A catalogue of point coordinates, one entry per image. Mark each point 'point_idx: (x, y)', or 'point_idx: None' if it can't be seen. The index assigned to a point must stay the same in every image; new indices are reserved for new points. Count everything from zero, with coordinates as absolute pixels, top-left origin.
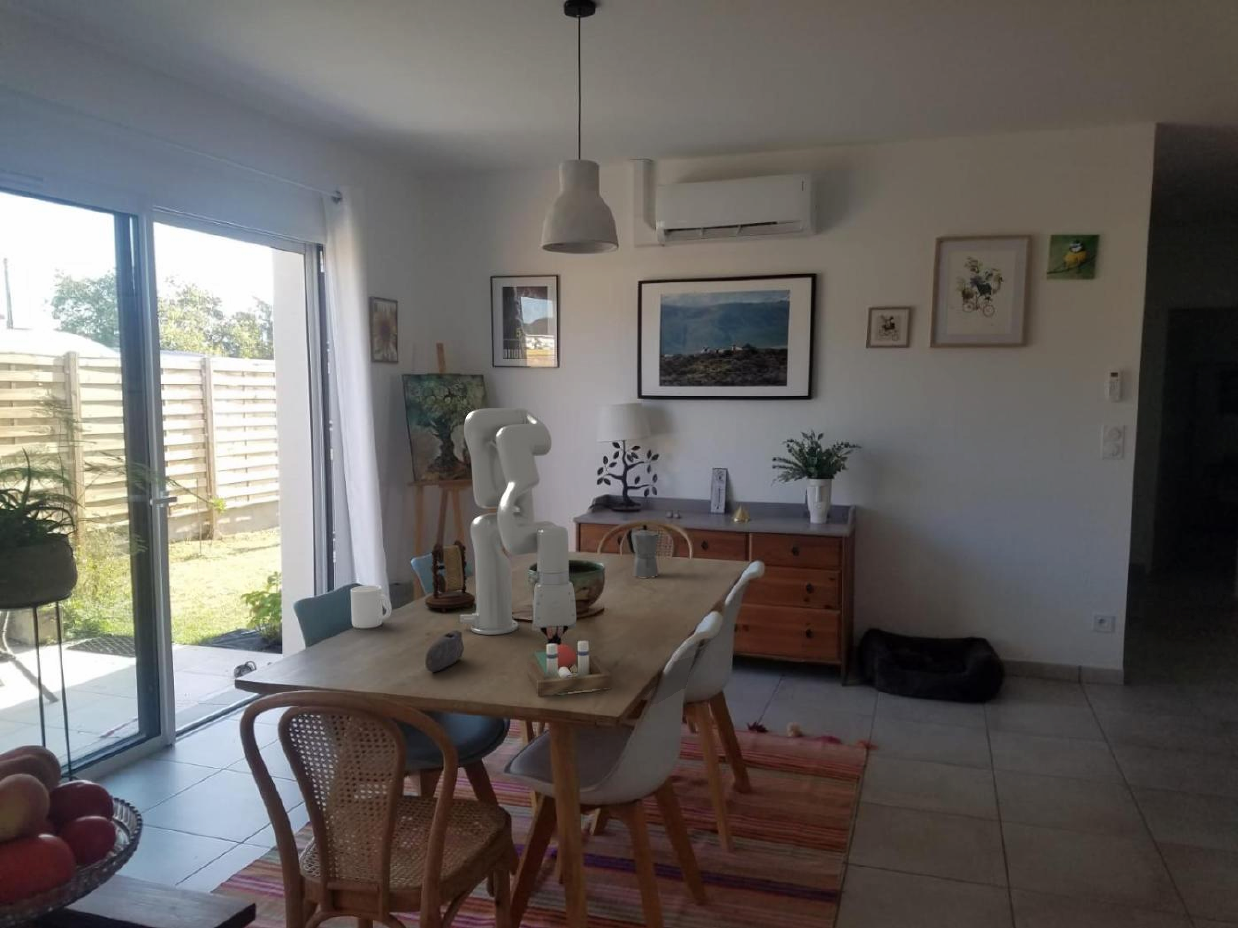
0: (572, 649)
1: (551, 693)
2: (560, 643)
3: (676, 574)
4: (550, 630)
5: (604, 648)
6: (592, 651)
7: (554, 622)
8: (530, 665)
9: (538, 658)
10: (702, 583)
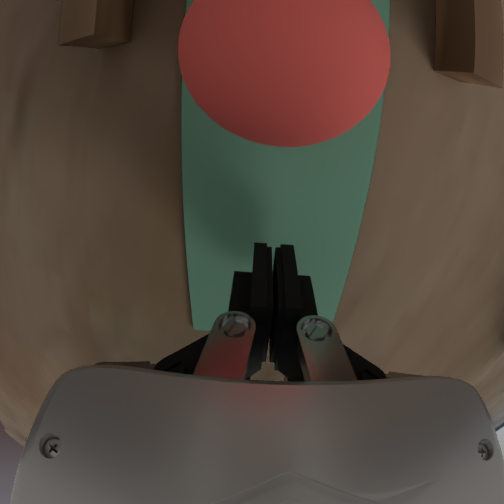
0: (196, 10)
1: None
2: (235, 291)
3: None
4: (320, 366)
5: (60, 295)
6: (95, 283)
7: (312, 420)
8: (498, 33)
9: (343, 274)
10: (18, 431)
